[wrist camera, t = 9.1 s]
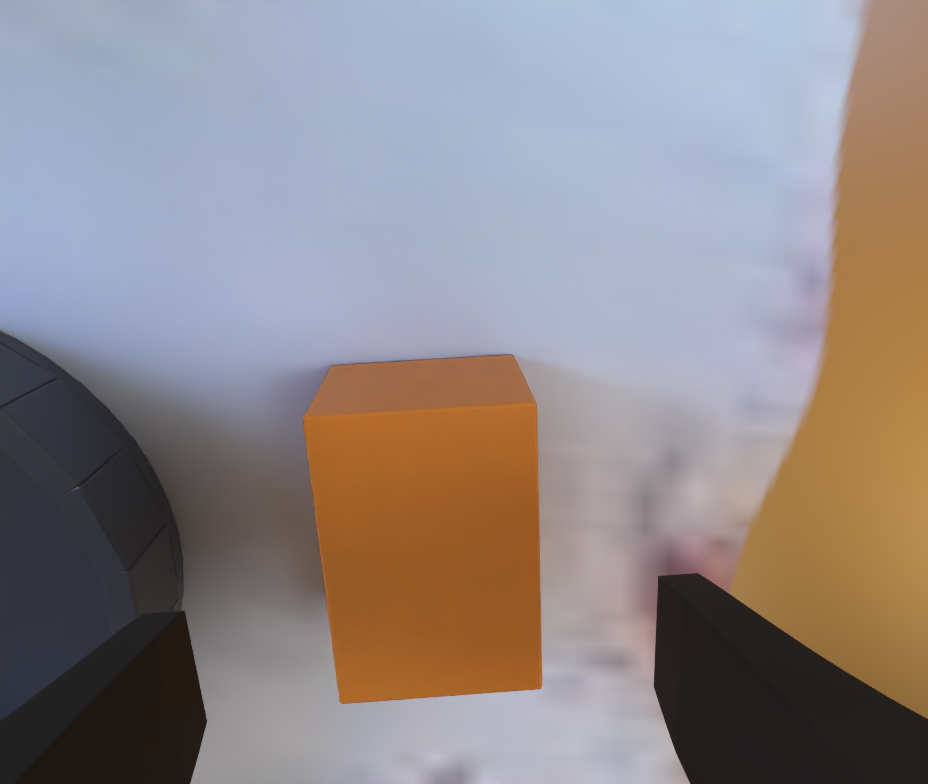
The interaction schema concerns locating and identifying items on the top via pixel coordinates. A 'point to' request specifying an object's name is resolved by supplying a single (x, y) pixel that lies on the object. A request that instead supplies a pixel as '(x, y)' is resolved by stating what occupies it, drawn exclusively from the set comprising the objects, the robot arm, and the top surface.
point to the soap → (428, 526)
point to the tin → (72, 526)
